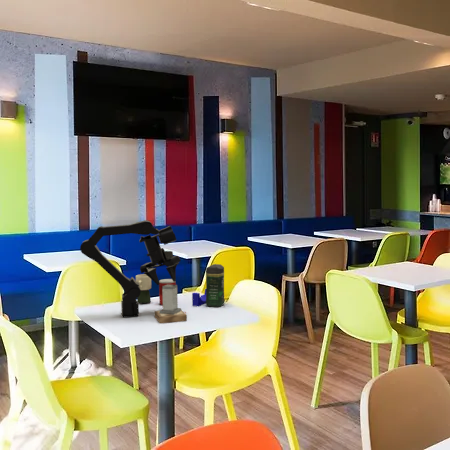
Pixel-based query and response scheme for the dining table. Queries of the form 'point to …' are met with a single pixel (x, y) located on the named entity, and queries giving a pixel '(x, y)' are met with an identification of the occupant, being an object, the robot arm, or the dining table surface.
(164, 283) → the canned food
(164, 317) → the light tan tray
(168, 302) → the steel housing
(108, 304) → the dining table surface
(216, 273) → the coffee jar
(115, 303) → the dining table surface
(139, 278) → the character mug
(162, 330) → the dining table surface
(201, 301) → the cable clip
